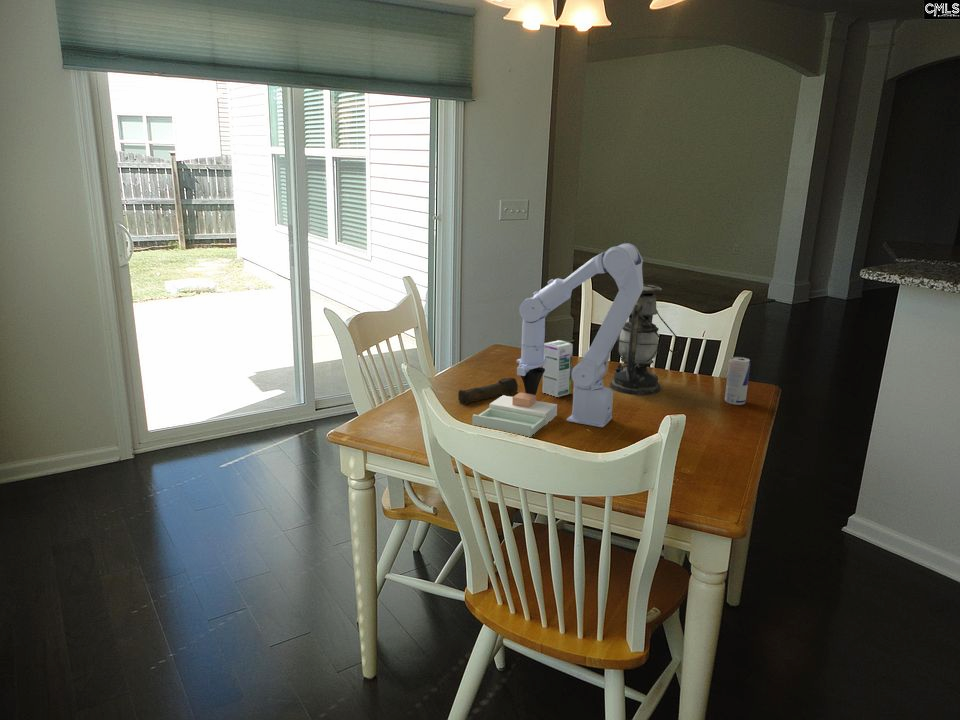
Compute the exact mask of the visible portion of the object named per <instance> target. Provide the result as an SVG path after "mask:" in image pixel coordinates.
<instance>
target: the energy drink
mask: <svg viewBox="0 0 960 720" xmlns="http://www.w3.org/2000/svg"><path fill="white" fill-rule="evenodd" d="M750 368H751V360H750V359H749V358H747V357H744V356H743V357H742V356H732V357H730V359H729V360H728V369H727V376H726V385H725V392H724V401H725V402H726V403H727V404H729V405H733V406H734V405H735V406H742V405H745V404H746V401H747V394H748V393H747V392H748V386H749V385H748V384H749V377H750V371H751V370H750Z"/></svg>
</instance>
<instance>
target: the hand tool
mask: <svg viewBox="0 0 960 720" xmlns="http://www.w3.org/2000/svg"><path fill="white" fill-rule="evenodd" d="M518 388H519V384H518V382H517V379H516V378H514V377H507V378H502V379H499V380H498V382H496V383H493V384H488V385H484V386H480V387H474V388H473V387H472V388H468V389H465V390H461V389H459V390H458V393H457V394H458V402H459V404H462V405H464V404H465V405H467V404H472V402H473V403H474V402H476V401H480V400H484V399H485V400H486V399H488V398H489V399H490V398H493V397H497V396H500V395H502V396H503V395H505V396H506V395H508V396H510V395H509V394H511V395H513V394H514V393H515V394H516V393H517V392H518V390H519V389H518ZM512 393H513V394H512Z"/></svg>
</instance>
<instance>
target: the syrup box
mask: <svg viewBox="0 0 960 720" xmlns="http://www.w3.org/2000/svg"><path fill="white" fill-rule="evenodd" d="M573 345H574V344H573V343H572V342H569V341H566V340H559V339H557V340H555V341H549V342H544V355H546V363H544V366H542V368H545V372H544V373H543V375H542V394H544V393H546V394H545V395H547V394H549V395H548V396H550V395H552V396H551V397H553V396H555V397H554V398H556V397H558V398H560V397H563V396H568V395H570V394H571V393H572V377H571V373H572V369H573Z"/></svg>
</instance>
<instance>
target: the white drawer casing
mask: <svg viewBox="0 0 960 720" xmlns="http://www.w3.org/2000/svg"><path fill="white" fill-rule="evenodd" d="M513 397H514V396H510V395H508V396H505V395H503V396H499V397H497V398H496V399H495V400H493V401H492V402H490V403H489V407H488V408H491V409H497V410H502V411H508V412H513V413H519V414H524V415H530V416H535V417H541V418H545V426H546V425H548V424H549V423H550V422H551V421H552V420H554V419H555V418H556V417H557V415H558V404H557V403H551V402H544V401H539V400H536V403H535V404H533V405H532V406H531V407H529V408H528V407H522V406H517V405H512V401H513ZM555 416H556V417H555ZM554 417H555V418H554ZM549 421H550V422H549ZM548 422H549V423H548Z"/></svg>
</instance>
